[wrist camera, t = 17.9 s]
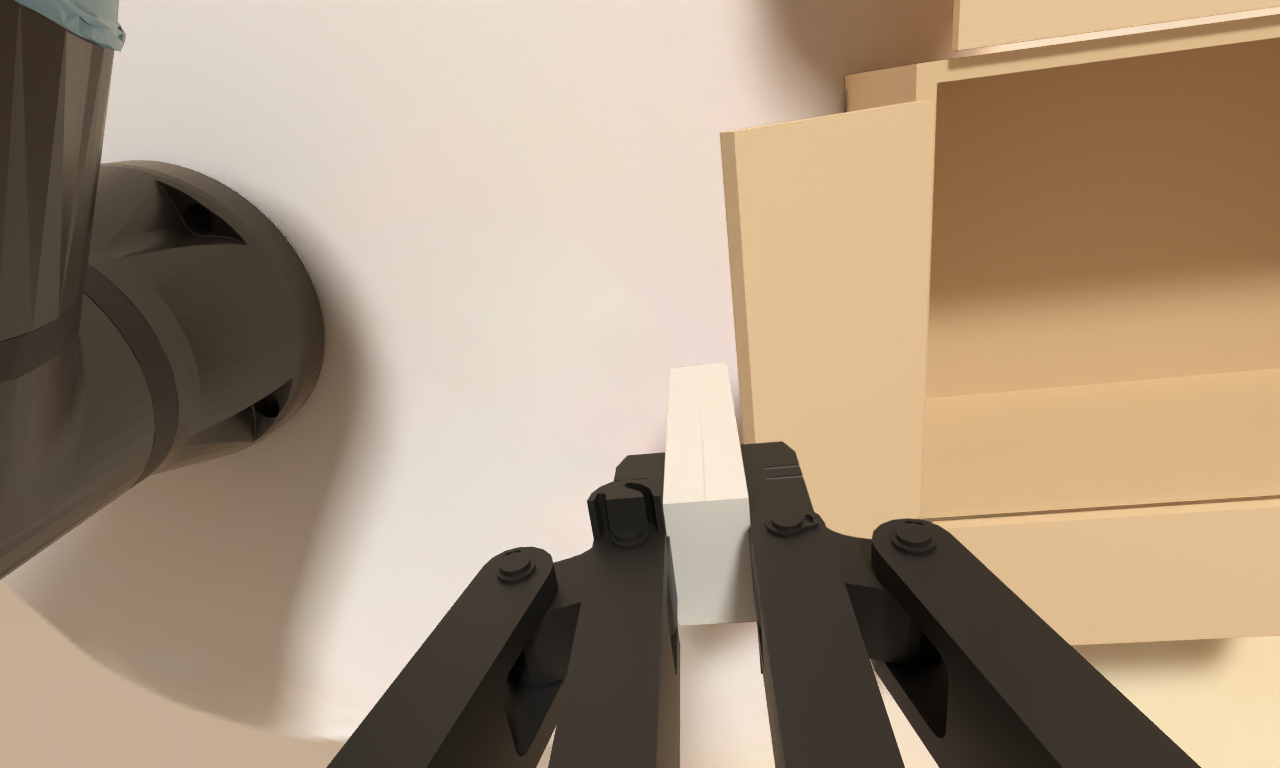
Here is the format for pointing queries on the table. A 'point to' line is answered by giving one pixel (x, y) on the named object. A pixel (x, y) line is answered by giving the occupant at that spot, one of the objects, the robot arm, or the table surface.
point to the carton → (1106, 310)
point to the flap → (835, 301)
